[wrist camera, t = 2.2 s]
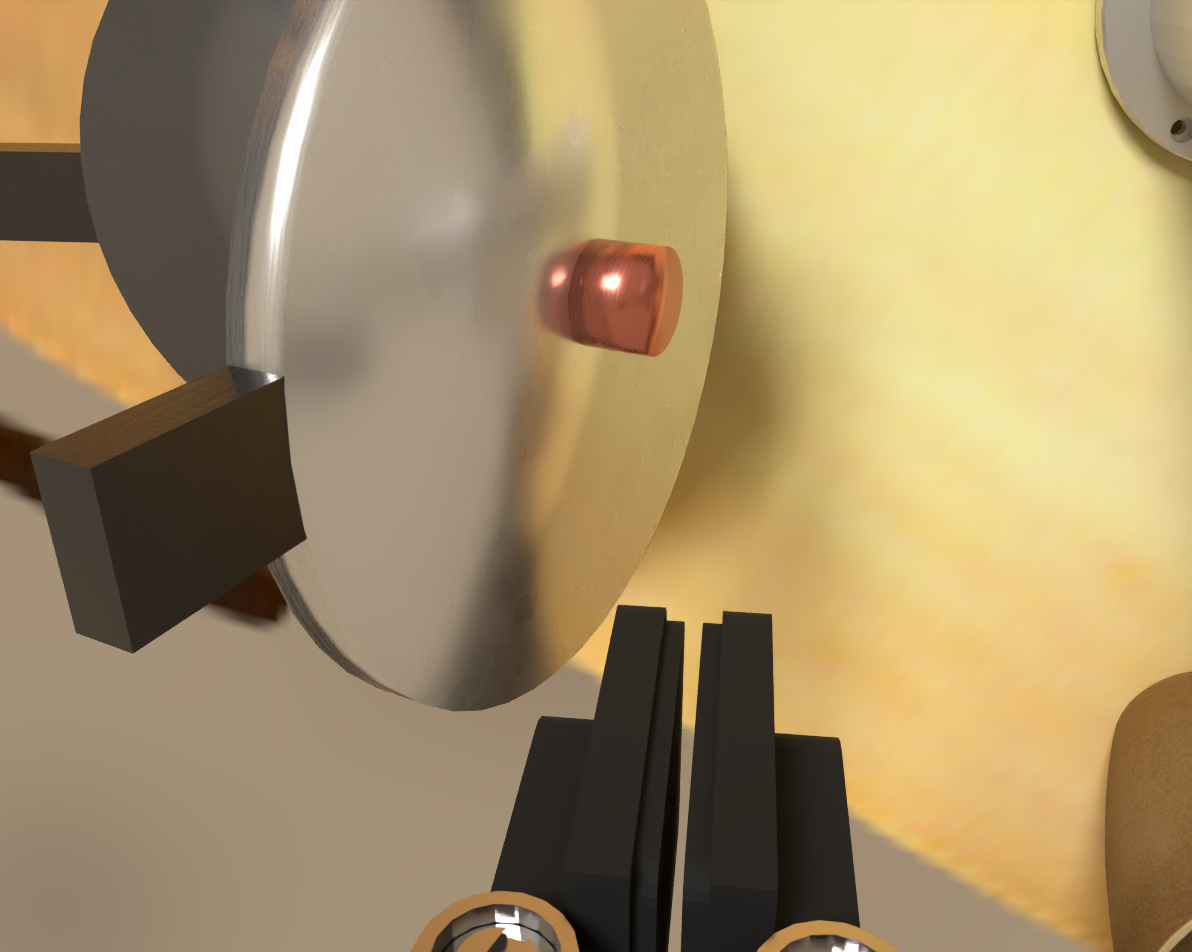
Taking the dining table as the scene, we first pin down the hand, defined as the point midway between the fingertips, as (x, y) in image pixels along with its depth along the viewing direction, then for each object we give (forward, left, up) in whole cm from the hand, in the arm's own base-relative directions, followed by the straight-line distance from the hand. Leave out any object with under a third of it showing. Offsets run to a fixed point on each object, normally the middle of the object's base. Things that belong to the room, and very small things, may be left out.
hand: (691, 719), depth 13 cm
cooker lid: (+5, 0, -14) cm, 15 cm away
